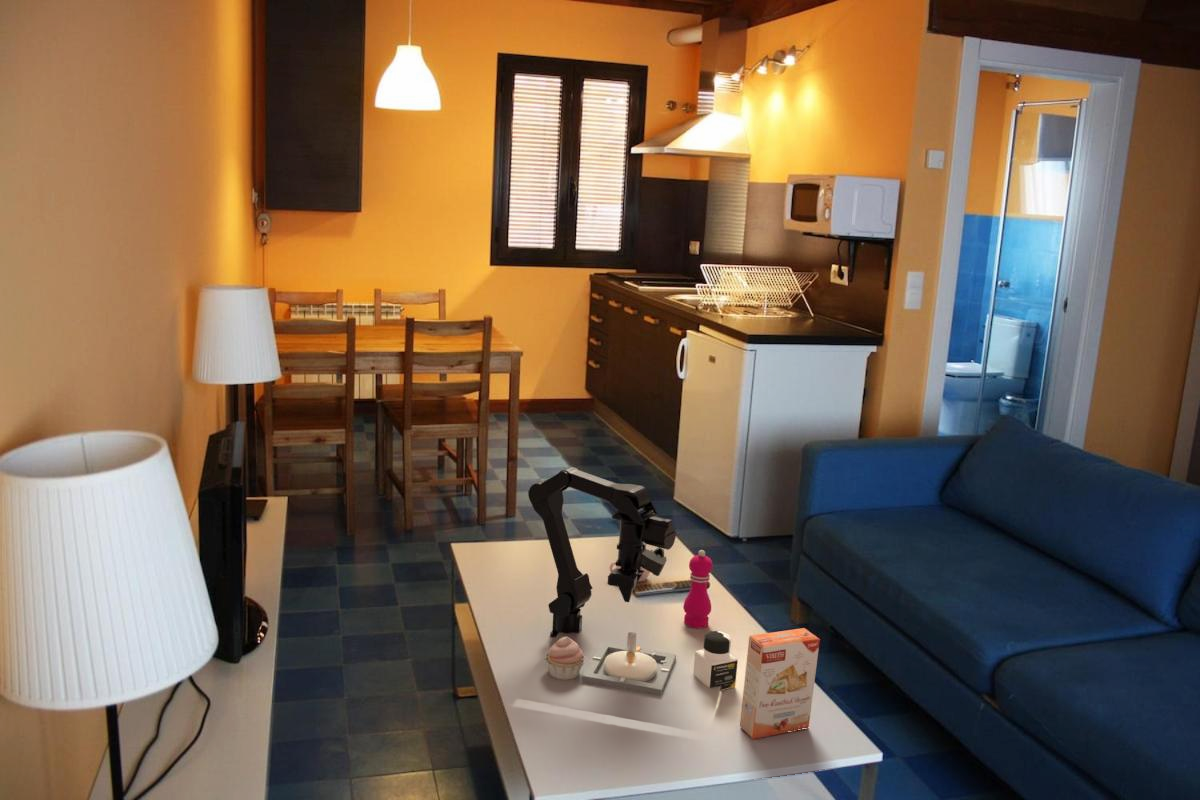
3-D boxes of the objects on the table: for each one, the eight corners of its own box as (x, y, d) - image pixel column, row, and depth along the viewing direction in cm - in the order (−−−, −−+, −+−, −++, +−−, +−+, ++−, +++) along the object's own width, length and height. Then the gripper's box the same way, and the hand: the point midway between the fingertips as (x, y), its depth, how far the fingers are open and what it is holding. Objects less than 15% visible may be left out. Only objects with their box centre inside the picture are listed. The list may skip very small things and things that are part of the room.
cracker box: (754, 741, 203) (763, 646, 199) (738, 726, 209) (747, 634, 204) (810, 730, 209) (821, 637, 205) (794, 716, 214) (804, 625, 210)
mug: (645, 572, 291) (647, 552, 290) (653, 585, 282) (654, 565, 280) (605, 572, 289) (606, 553, 288) (612, 585, 279) (613, 566, 278)
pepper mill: (708, 630, 254) (714, 556, 250) (680, 626, 255) (686, 553, 251) (711, 619, 261) (717, 547, 257) (683, 615, 262) (689, 543, 258)
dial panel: (581, 686, 222) (582, 674, 221) (601, 652, 239) (602, 640, 238) (660, 700, 217) (661, 688, 217) (675, 664, 235) (676, 652, 234)
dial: (656, 684, 222) (658, 656, 220) (603, 680, 222) (604, 652, 221) (655, 659, 234) (657, 632, 232) (604, 656, 234) (606, 629, 232)
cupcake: (577, 690, 220) (579, 649, 218) (537, 682, 222) (539, 641, 220) (590, 672, 228) (592, 632, 226) (551, 664, 231) (553, 624, 229)
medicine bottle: (709, 693, 222) (713, 643, 219) (692, 679, 228) (696, 630, 226) (735, 688, 225) (740, 638, 223) (718, 673, 231) (722, 625, 229)
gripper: (657, 557, 223) (652, 622, 226) (672, 531, 241) (667, 592, 244) (609, 550, 225) (605, 614, 229) (627, 525, 243) (623, 585, 246)
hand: (627, 601), depth 237 cm, fingers closed
